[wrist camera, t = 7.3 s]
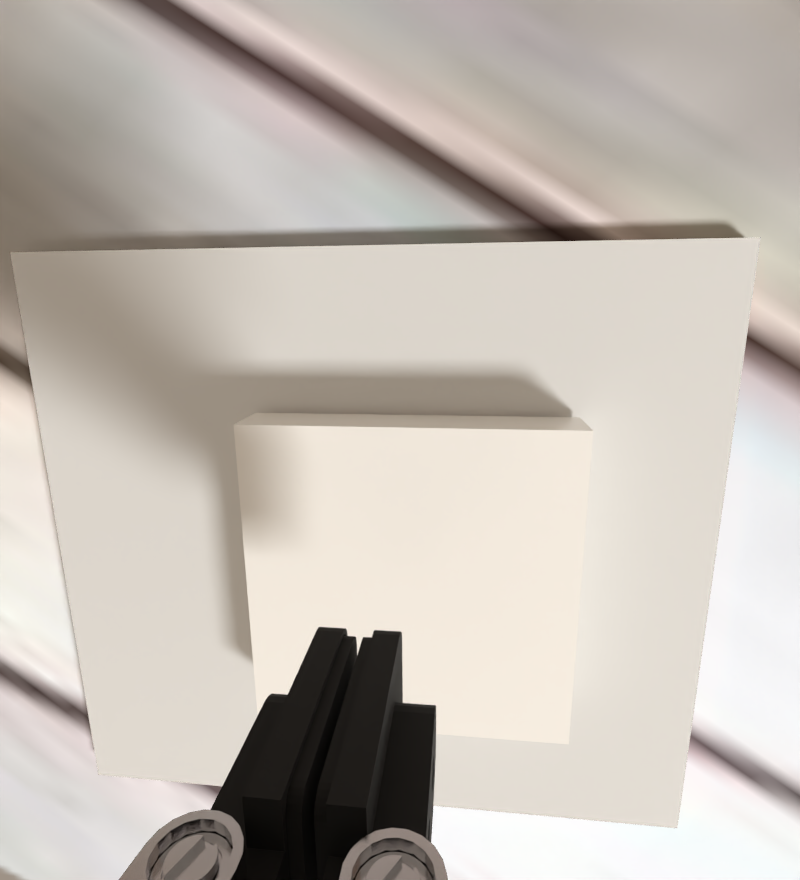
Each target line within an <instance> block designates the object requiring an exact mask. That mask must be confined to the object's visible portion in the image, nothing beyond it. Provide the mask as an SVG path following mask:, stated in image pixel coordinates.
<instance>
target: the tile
mask: <svg viewBox="0 0 800 880" xmlns="http://www.w3.org/2000/svg"><path fill="white" fill-rule="evenodd" d="M234 436H235V448H236V460H237V473H238V485H239V497H240V509H241V521H242V533H243V545H244V557H245V569H246V582H247V594H248V606H249V618H250V630H251V642H252V654H253V666H254V678H255V691H256V703H257V715H258V714H259V712H260V710H261V708H262V706H263V704H264V702H265V700H266V699H267V697H268V696H269V695H270V694H272V693H273V694H286V695H288V693H289V691H290V688H291V686H292V684H293V682H294V679H295V677H296V675H297V673H298V671H299V668H300V666H301V664H302V662H303V659H304V657H305V655H306V653H307V650H308V648H309V646H310V644H311V642H312V639H313V637H314V635H315V633H316V630H317V629H318V627H331V628H346V630H347V634H348V636H355V637H356V640H357V655H358V652H359V648H360V645H361V642H362V639H363V637H372V635H373V632H374V630H383V631H400V632H401V633H402V678H403V703H411V704H425V705H436V734H441V735H454V736H467V737H480V738H493V739H506V740H518V741H531V742H544V743H557V744H569V734H570V721H571V709H572V696H573V683H574V670H575V658H576V645H577V632H578V620H579V607H580V594H581V581H582V569H583V556H584V543H585V530H586V518H587V505H588V492H589V480H590V467H591V454H592V441H593V430H592V429H591V428H590V427H589V426H588V425H587V424H586V423H585V422H584V421H583V420H582V419H581V418H580V417H520V416H450V415H381V414H312V413H255V414H253V415H251V416H249V417H247V418H245V419H243V420H241V421H240V422H238V423H236V424H234Z"/></svg>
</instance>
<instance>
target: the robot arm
mask: <svg viewBox="0 0 800 880" xmlns="http://www.w3.org/2000/svg"><path fill="white" fill-rule="evenodd" d="M435 759H436V705H425V704H411V703H403V678H402V633H401V632H400V631H383V630H374V632H373V635H372V637H363V639H362V642H361V645H360V648H359V652H358V655H357V640H356V637H355V636H348V634H347V630H346V628H331V627H318V629H317V630H316V633H315V635H314V637H313V639H312V642H311V644H310V646H309V648H308V650H307V653H306V655H305V657H304V659H303V662H302V664H301V666H300V668H299V671H298V673H297V675H296V677H295V679H294V682H293V684H292V686H291V688H290V691H289V693H288V695H286V694H273V693H272V694H270V695H269V696H268V697H267V699H266V700H265V702H264V704H263V706H262V708H261V710H260V712H259V714H258V716H257V718H256V720H255V722H254V724H253V726H252V728H251V730H250V732H249V734H248V736H247V738H246V740H245V742H244V744H243V746H242V748H241V750H240V752H239V754H238V756H237V758H236V760H235V762H234V764H233V766H232V768H231V770H230V772H229V774H228V776H227V778H226V780H225V782H224V784H223V786H222V788H221V790H220V792H219V794H218V796H217V798H216V800H215V802H214V804H213V806H212V808H211V810H200V811H195V812H189V813H187V814H185V815H182V816H180V817H178V818H175V819H173V820H172V821H170V822H169V823H168V824H166V825H165V826H163V827H162V828H161V829H159V830H158V831H157V832H156V833H155V834H154V835H153V836H152V837H151V839H150V840H149V841H148V842H147V843H146V844H145V845H144V847H143V848H142V849H141V851H140V852H139V853H138V855H137V856H136V857H135V859H134V860H133V861H132V863H131V864H130V865H129V867H128V868H127V869H126V871H125V872H124V873H123V875H122V876H121V877H120V879H119V880H448V878H447V873H446V869H445V866H444V862H443V859H442V857H441V856H440V854H439V853H438V851H437V849H436V848H435V846H434V845H433V844H432V843H431V834H432V817H433V801H434V784H435Z"/></svg>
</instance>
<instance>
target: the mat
mask: <svg viewBox="0 0 800 880" xmlns="http://www.w3.org/2000/svg"><path fill="white" fill-rule="evenodd" d="M760 239H761V237H754V238H703V239H652V240H602V241H551V242H500V243H450V244H399V245H348V246H298V247H247V248H196V249H145V250H95V251H44V252H10V256H11V262H12V268H13V274H14V280H15V286H16V291H17V297H18V303H19V309H20V315H21V321H22V327H23V333H24V339H25V345H26V350H27V356H28V362H29V368H30V374H31V380H32V386H33V392H34V398H35V404H36V409H37V415H38V421H39V427H40V433H41V439H42V445H43V451H44V457H45V463H46V468H47V474H48V480H49V486H50V492H51V498H52V504H53V510H54V516H55V521H56V527H57V533H58V539H59V545H60V551H61V557H62V563H63V569H64V575H65V580H66V586H67V592H68V598H69V604H70V610H71V616H72V622H73V628H74V634H75V639H76V645H77V651H78V657H79V663H80V669H81V675H82V681H83V687H84V693H85V698H86V704H87V710H88V716H89V722H90V728H91V734H92V740H93V746H94V752H95V757H96V763H97V769H98V775H107V776H118V777H128V778H139V779H150V780H161V781H172V782H183V783H193V784H204V785H215V786H223V784H224V782H225V780H226V778H227V776H228V774H229V772H230V770H231V768H232V766H233V764H234V762H235V760H236V758H237V756H238V754H239V752H240V750H241V748H242V746H243V744H244V742H245V740H246V738H247V736H248V734H249V732H250V730H251V728H252V726H253V724H254V722H255V720H256V718H257V716H258V715H257V703H256V691H255V678H254V666H253V654H252V642H251V630H250V618H249V606H248V594H247V582H246V569H245V557H244V545H243V533H242V521H241V509H240V497H239V485H238V473H237V460H236V448H235V436H234V424H236V423H238V422H240V421H241V420H243V419H245V418H247V417H249V416H251V415H253V414H255V413H312V414H381V415H450V416H520V417H580V418H581V419H582V420H583V421H584V422H585V423H586V424H587V425H588V426H589V427H590V428H591V429H592V430H593V441H592V454H591V467H590V480H589V492H588V505H587V518H586V530H585V543H584V556H583V569H582V581H581V594H580V607H579V620H578V632H577V645H576V658H575V670H574V683H573V696H572V709H571V721H570V734H569V744H557V743H544V742H531V741H518V740H506V739H493V738H480V737H467V736H454V735H441V734H436V759H435V784H434V801H433V806H443V807H453V808H464V809H475V810H486V811H497V812H508V813H519V814H529V815H540V816H551V817H562V818H573V819H584V820H594V821H605V822H616V823H627V824H638V825H649V826H659V827H670V828H677V826H678V819H679V812H680V805H681V798H682V791H683V784H684V776H685V769H686V762H687V755H688V748H689V741H690V734H691V727H692V720H693V713H694V706H695V699H696V692H697V685H698V677H699V670H700V663H701V656H702V649H703V642H704V635H705V628H706V621H707V614H708V607H709V600H710V593H711V586H712V578H713V571H714V564H715V557H716V550H717V543H718V536H719V529H720V522H721V515H722V508H723V501H724V494H725V486H726V479H727V472H728V465H729V458H730V451H731V444H732V437H733V430H734V423H735V416H736V409H737V402H738V395H739V387H740V380H741V373H742V366H743V359H744V352H745V345H746V338H747V331H748V324H749V317H750V310H751V303H752V295H753V288H754V281H755V274H756V267H757V260H758V253H759V246H760Z"/></svg>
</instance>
